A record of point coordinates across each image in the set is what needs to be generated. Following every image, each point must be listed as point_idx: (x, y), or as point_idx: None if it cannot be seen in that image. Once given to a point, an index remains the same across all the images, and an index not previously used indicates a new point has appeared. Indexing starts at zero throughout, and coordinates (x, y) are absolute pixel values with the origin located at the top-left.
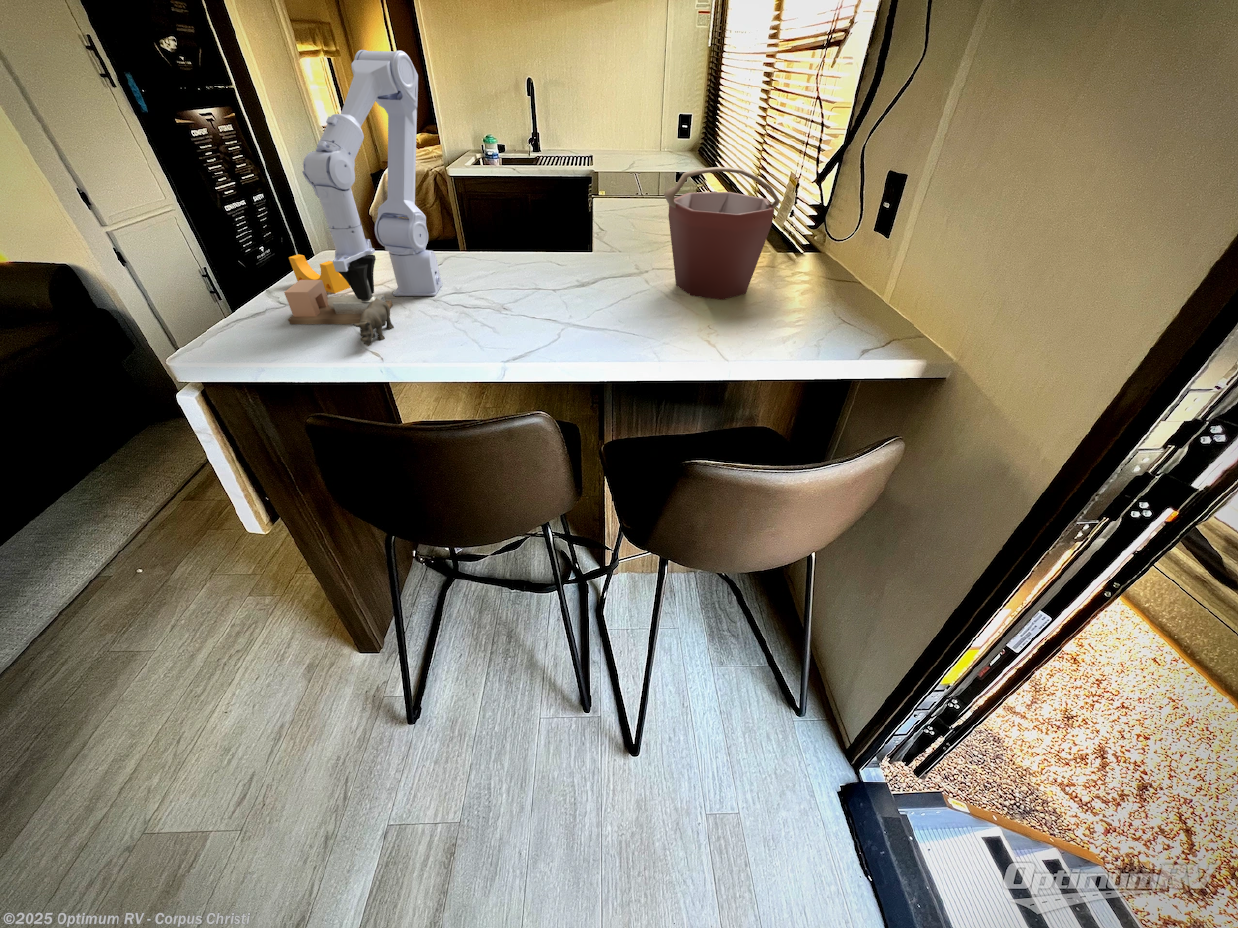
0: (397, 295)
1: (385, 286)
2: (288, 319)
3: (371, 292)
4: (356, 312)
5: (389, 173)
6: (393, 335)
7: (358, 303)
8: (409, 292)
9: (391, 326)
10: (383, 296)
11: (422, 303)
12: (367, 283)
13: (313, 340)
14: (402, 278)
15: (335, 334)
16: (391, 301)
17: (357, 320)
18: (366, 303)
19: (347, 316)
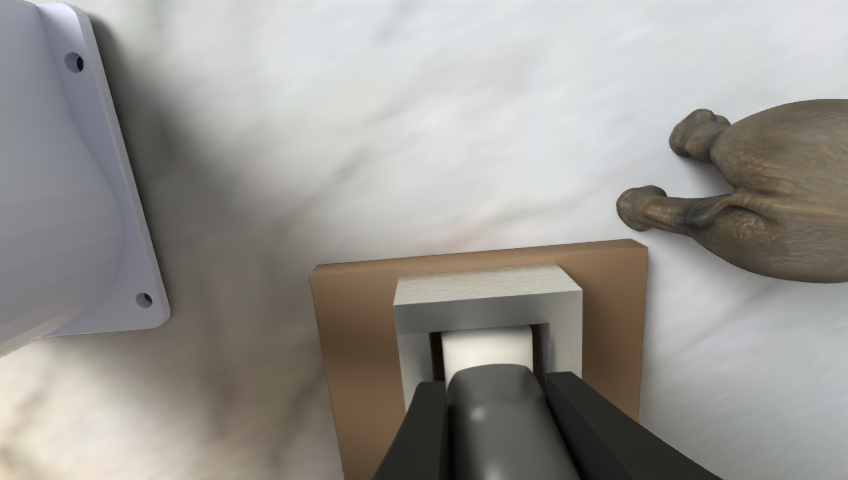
0: (164, 291)
1: (26, 424)
2: None
3: (486, 387)
4: None
5: None
6: (831, 60)
7: None
8: (115, 214)
9: (715, 118)
10: (410, 301)
11: (247, 65)
12: (541, 459)
13: (821, 472)
14: (14, 278)
15: (759, 406)
16: (315, 273)
17: (635, 360)
18: (581, 365)
19: None
